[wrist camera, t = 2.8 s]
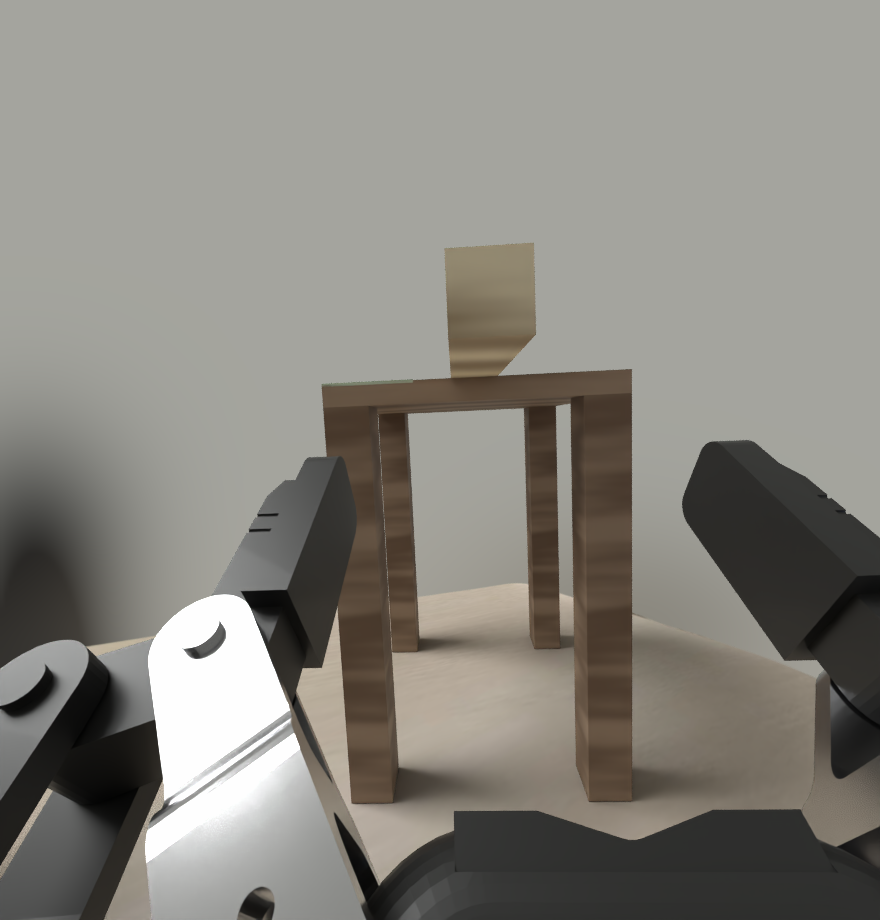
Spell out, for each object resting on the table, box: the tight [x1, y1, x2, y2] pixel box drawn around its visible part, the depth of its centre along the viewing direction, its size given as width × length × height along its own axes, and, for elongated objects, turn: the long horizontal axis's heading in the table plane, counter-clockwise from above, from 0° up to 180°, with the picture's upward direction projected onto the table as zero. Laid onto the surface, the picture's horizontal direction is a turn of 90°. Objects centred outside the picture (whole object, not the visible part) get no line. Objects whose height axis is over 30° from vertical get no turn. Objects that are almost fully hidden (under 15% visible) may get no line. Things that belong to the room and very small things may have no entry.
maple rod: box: [445, 243, 536, 378], centre depth 29 cm, size 32×3×3 cm, turn 178°
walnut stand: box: [322, 369, 632, 803], centre depth 38 cm, size 22×20×30 cm
